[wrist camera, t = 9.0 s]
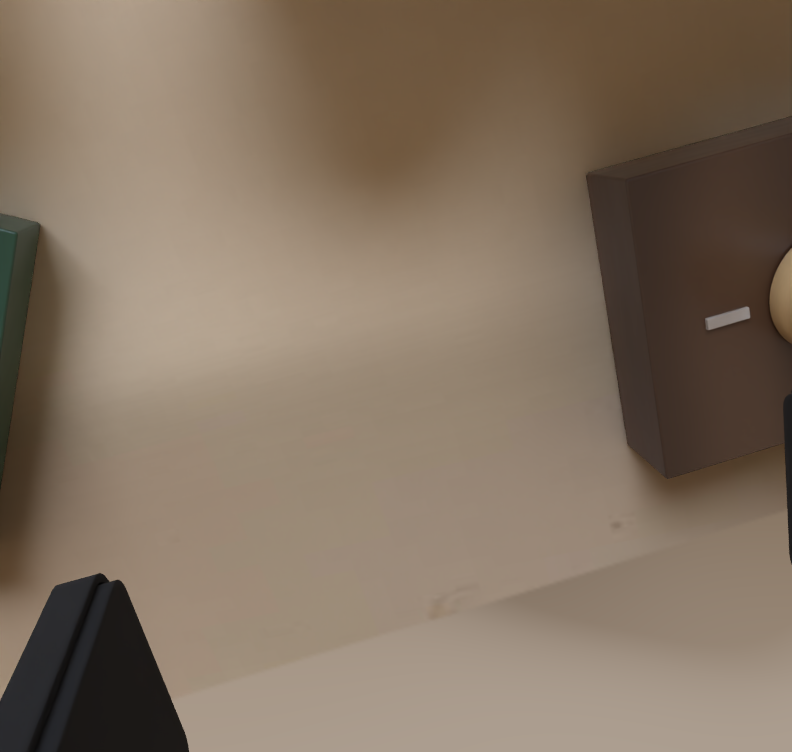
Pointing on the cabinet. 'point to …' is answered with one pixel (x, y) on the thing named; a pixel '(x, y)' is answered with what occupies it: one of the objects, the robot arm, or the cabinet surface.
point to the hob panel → (698, 294)
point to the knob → (782, 298)
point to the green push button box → (13, 309)
